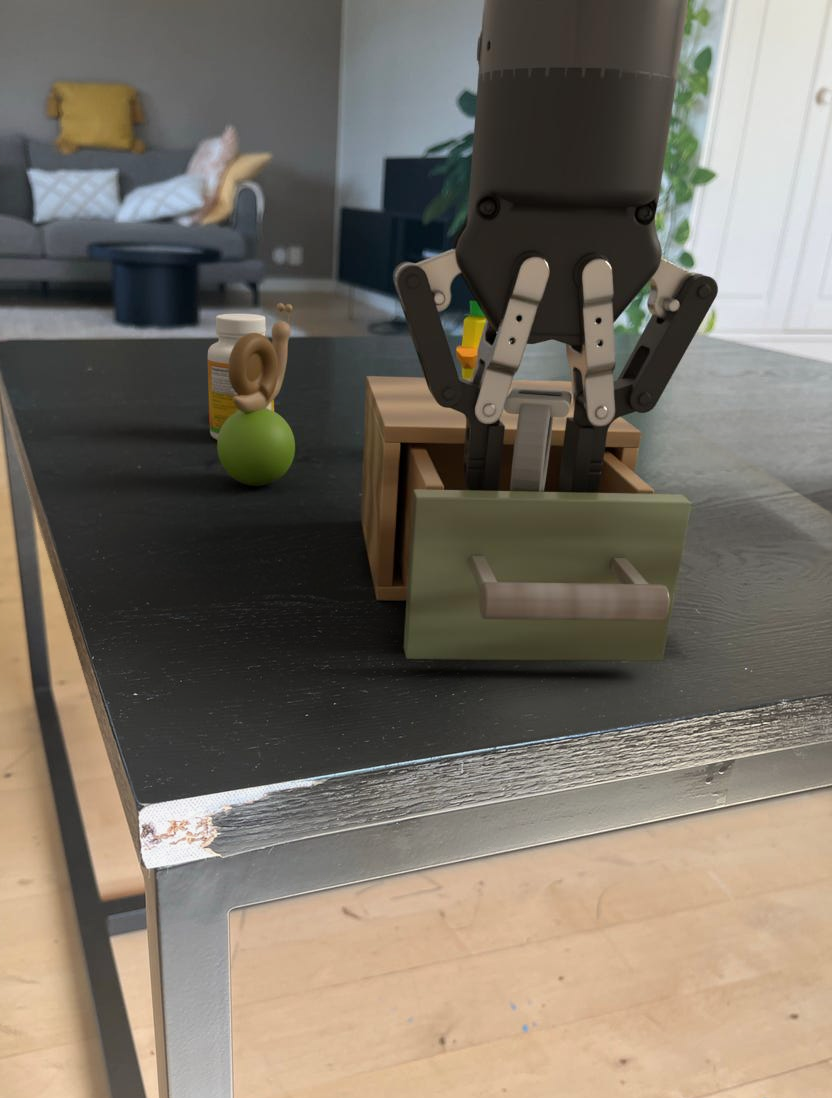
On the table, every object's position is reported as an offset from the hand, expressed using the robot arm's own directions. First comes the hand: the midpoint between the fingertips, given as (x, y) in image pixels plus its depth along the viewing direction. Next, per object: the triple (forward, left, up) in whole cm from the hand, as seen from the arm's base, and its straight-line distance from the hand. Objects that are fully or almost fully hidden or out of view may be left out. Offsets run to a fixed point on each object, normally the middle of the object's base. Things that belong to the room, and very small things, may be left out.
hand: (528, 500), depth 45 cm
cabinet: (0, -11, -7) cm, 13 cm away
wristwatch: (0, 0, 0) cm, 0 cm away
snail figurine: (+13, -26, -7) cm, 30 cm away
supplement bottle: (+15, -40, -7) cm, 43 cm away
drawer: (0, +1, -6) cm, 6 cm away
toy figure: (-3, -34, -7) cm, 35 cm away
